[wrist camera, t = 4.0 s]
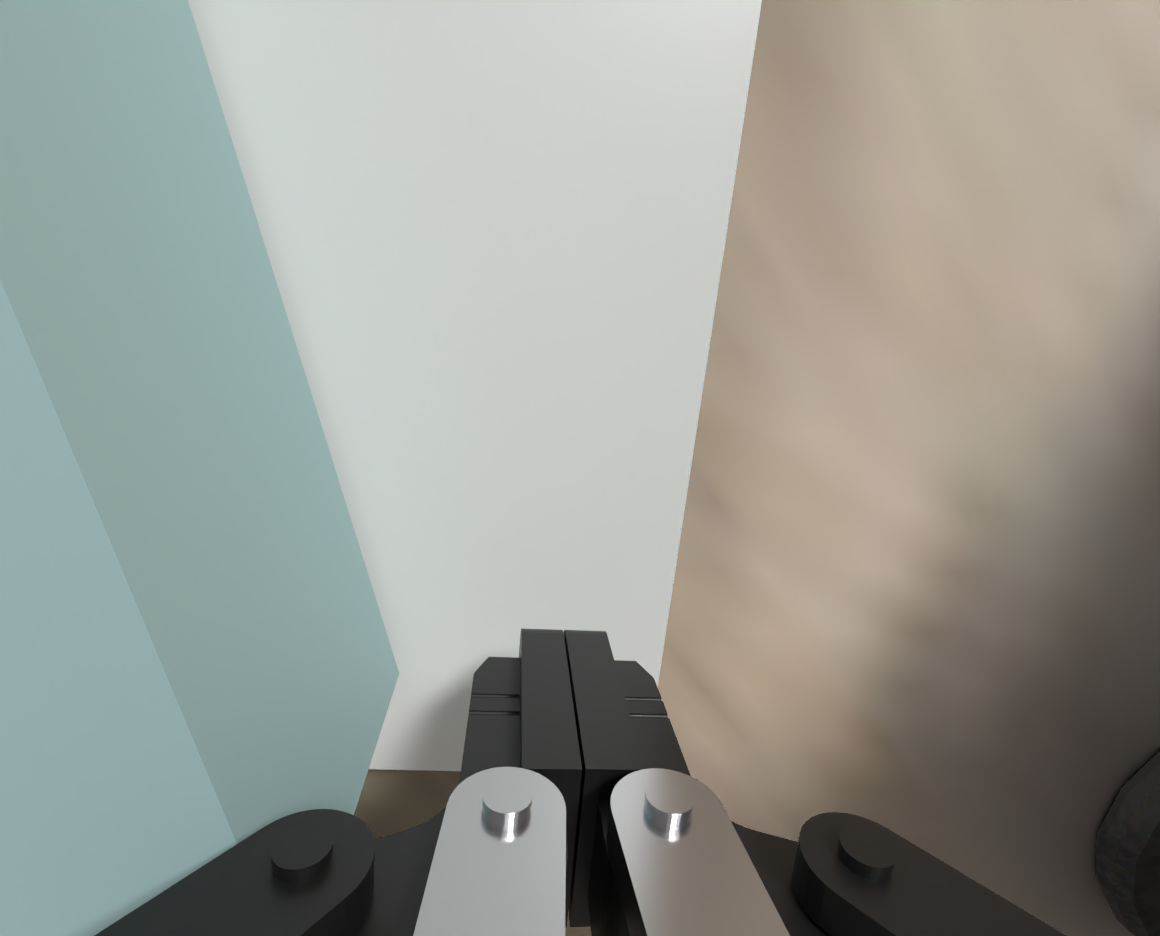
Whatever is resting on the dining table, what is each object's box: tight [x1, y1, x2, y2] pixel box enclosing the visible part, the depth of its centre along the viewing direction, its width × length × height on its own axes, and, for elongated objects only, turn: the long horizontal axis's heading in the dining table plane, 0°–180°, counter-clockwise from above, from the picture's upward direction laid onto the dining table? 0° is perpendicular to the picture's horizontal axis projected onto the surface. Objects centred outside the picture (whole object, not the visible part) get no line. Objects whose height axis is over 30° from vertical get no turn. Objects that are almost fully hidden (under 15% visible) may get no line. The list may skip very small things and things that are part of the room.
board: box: [188, 0, 762, 771], centre depth 11 cm, size 17×20×1 cm
